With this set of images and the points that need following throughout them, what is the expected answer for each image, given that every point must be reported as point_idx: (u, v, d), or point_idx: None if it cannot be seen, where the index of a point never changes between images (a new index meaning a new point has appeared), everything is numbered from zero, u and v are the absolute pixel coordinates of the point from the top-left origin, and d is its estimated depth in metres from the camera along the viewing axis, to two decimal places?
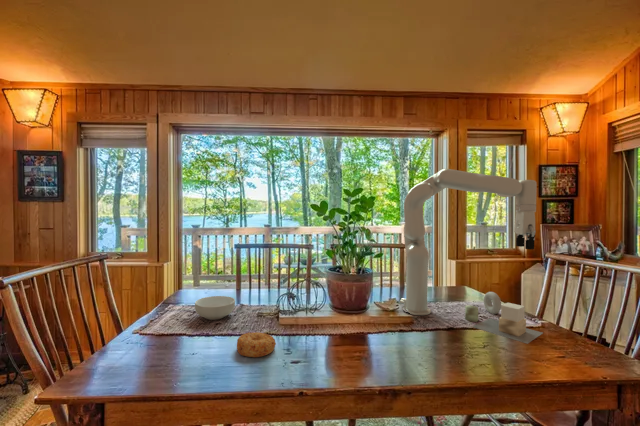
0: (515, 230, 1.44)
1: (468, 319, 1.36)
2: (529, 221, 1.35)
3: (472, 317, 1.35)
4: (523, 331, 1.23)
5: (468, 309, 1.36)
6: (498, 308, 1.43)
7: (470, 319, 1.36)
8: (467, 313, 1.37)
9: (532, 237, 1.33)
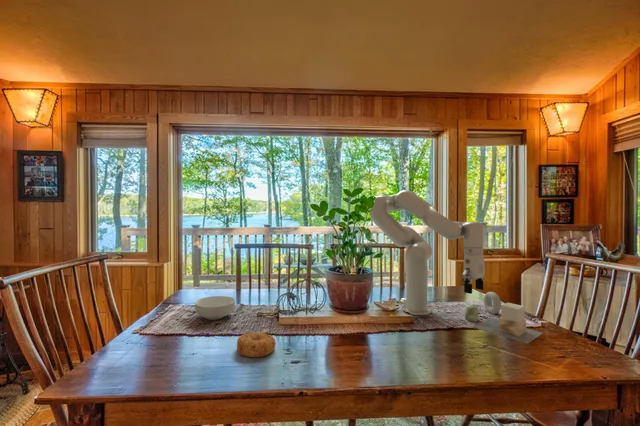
0: (476, 276, 1.33)
1: (468, 319, 1.36)
2: None
3: (472, 317, 1.35)
4: (523, 331, 1.23)
5: (468, 309, 1.36)
6: (498, 308, 1.43)
7: (470, 319, 1.36)
8: (467, 313, 1.37)
9: None
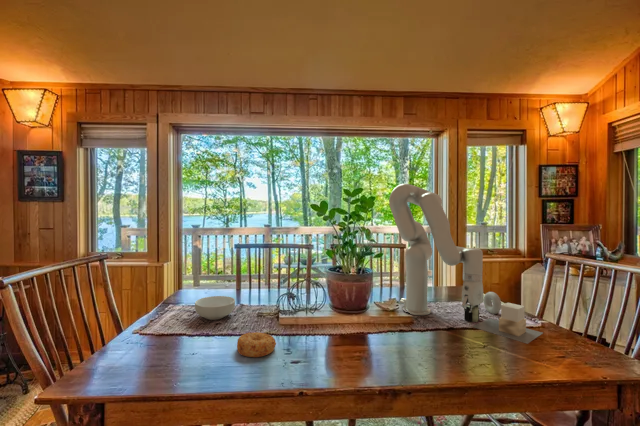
0: (475, 302, 1.34)
1: None
2: None
3: (473, 317, 1.35)
4: (523, 331, 1.23)
5: None
6: (498, 308, 1.43)
7: None
8: None
9: None
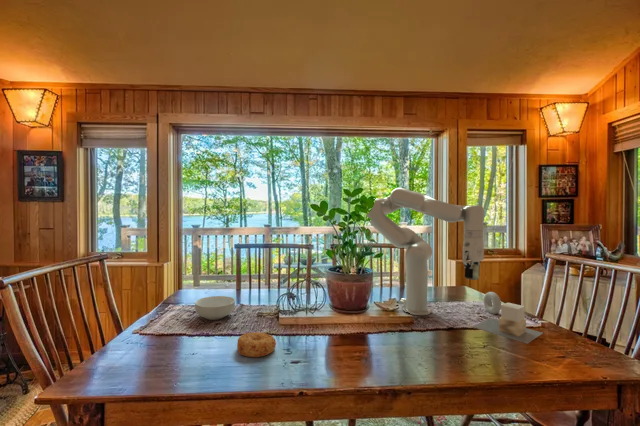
0: (475, 259, 1.33)
1: None
2: None
3: (473, 274, 1.35)
4: (523, 331, 1.23)
5: None
6: (498, 308, 1.43)
7: None
8: None
9: None
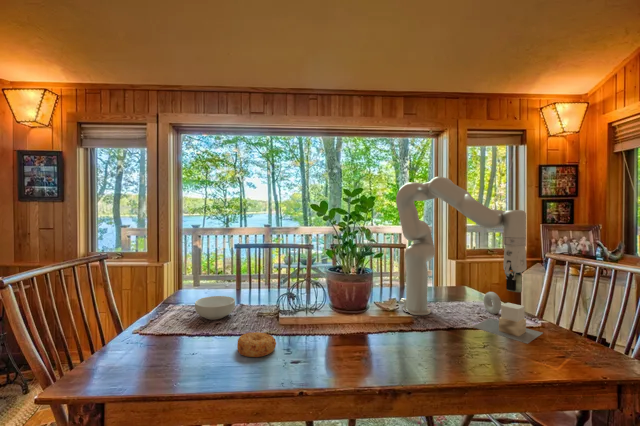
0: (519, 269, 1.21)
1: None
2: None
3: (516, 285, 1.22)
4: (523, 331, 1.23)
5: None
6: (498, 308, 1.43)
7: None
8: None
9: None
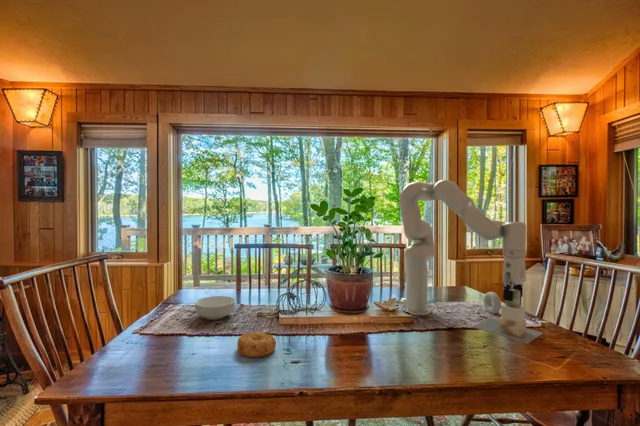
0: (518, 281, 1.21)
1: (509, 303, 1.24)
2: None
3: (514, 301, 1.23)
4: (523, 331, 1.23)
5: None
6: (498, 308, 1.43)
7: (512, 303, 1.23)
8: None
9: None
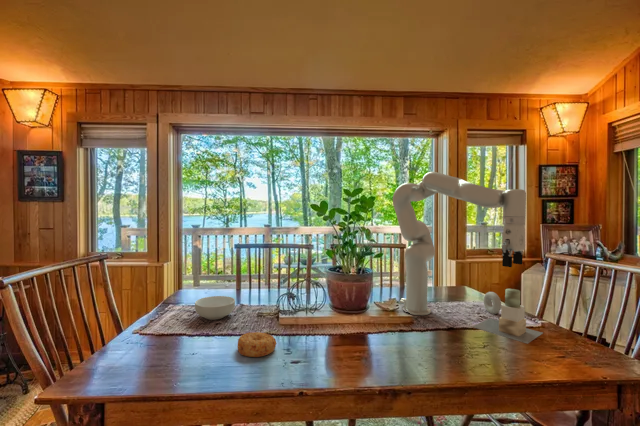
0: (517, 247, 1.21)
1: (509, 303, 1.24)
2: None
3: (514, 301, 1.23)
4: (523, 331, 1.23)
5: (509, 292, 1.24)
6: (498, 308, 1.43)
7: (512, 303, 1.23)
8: (508, 297, 1.24)
9: None
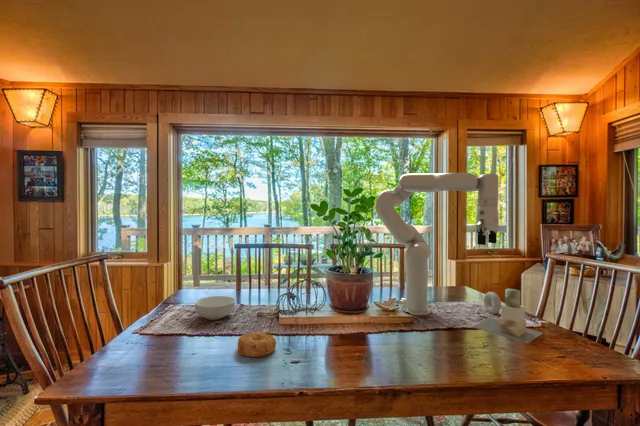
0: (491, 227, 1.32)
1: (509, 303, 1.24)
2: None
3: (514, 301, 1.23)
4: (523, 331, 1.23)
5: (509, 292, 1.24)
6: (498, 308, 1.43)
7: (512, 303, 1.23)
8: (508, 297, 1.24)
9: None
